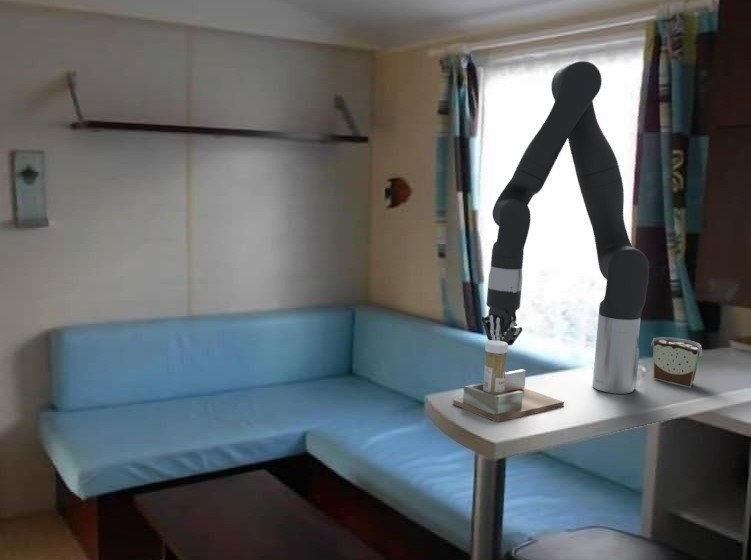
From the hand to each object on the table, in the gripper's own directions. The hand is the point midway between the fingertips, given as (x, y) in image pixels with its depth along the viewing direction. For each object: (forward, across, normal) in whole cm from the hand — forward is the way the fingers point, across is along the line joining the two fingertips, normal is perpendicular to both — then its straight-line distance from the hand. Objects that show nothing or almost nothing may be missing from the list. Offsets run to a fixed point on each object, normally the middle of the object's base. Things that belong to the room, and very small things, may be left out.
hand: (498, 361), depth 180 cm
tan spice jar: (+5, +14, -11) cm, 19 cm away
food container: (+5, +11, +46) cm, 47 cm away
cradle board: (+6, +13, -6) cm, 15 cm away
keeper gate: (+4, +7, -3) cm, 9 cm away
